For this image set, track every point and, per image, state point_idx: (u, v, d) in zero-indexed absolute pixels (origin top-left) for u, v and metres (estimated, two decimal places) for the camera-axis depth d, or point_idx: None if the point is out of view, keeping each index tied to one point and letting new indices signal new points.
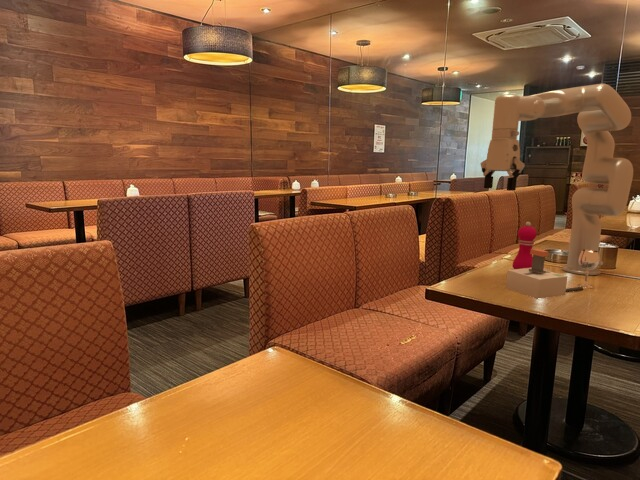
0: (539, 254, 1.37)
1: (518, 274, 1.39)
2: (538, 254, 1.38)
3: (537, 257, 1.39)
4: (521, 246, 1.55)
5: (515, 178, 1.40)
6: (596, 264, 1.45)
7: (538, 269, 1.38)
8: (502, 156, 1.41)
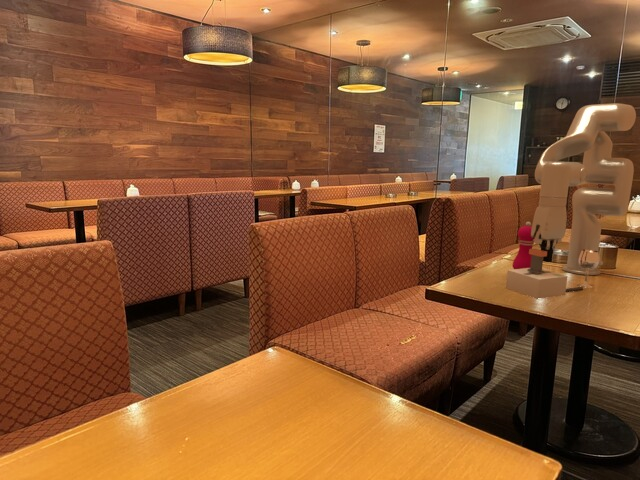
0: (538, 254, 1.37)
1: (518, 274, 1.39)
2: (537, 254, 1.37)
3: (536, 257, 1.38)
4: (521, 246, 1.55)
5: None
6: (596, 264, 1.45)
7: (537, 269, 1.38)
8: (562, 225, 1.37)
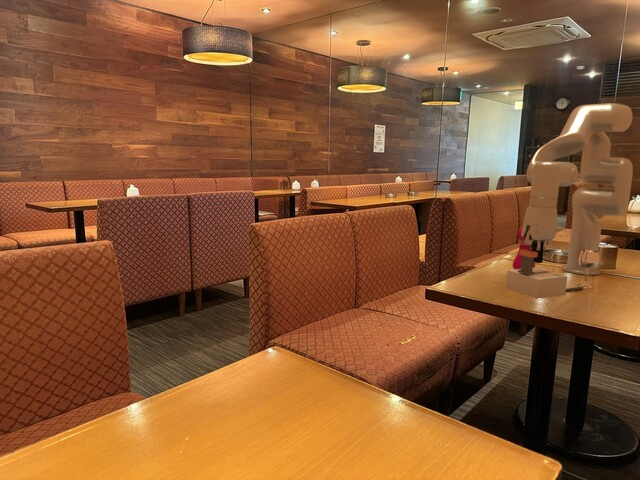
0: (528, 255, 1.35)
1: (518, 274, 1.39)
2: (527, 255, 1.36)
3: (526, 258, 1.37)
4: (521, 246, 1.55)
5: None
6: (596, 264, 1.45)
7: (527, 270, 1.37)
8: (552, 225, 1.36)
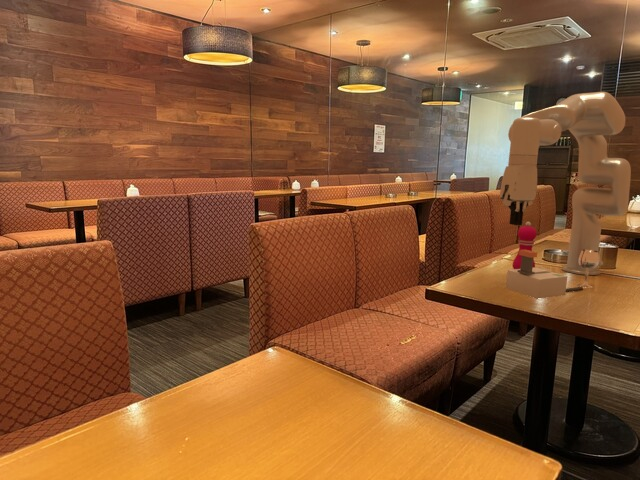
0: (528, 255, 1.35)
1: (518, 274, 1.39)
2: (527, 255, 1.36)
3: (526, 258, 1.37)
4: (521, 246, 1.55)
5: None
6: (596, 264, 1.45)
7: (527, 270, 1.37)
8: (532, 185, 1.29)
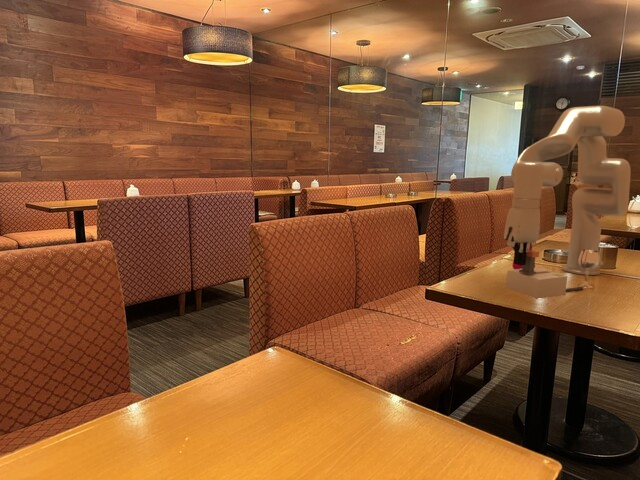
0: (529, 255, 1.36)
1: (518, 274, 1.39)
2: (528, 255, 1.36)
3: (527, 258, 1.37)
4: None
5: None
6: (596, 264, 1.45)
7: (528, 270, 1.37)
8: (535, 227, 1.33)
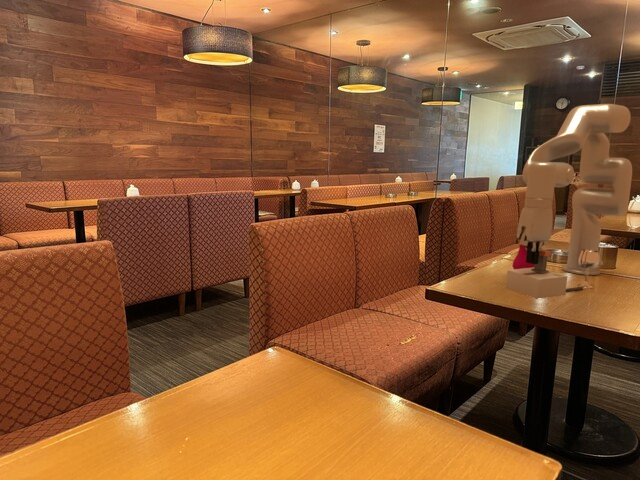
0: (542, 254, 1.38)
1: (518, 274, 1.39)
2: (541, 254, 1.38)
3: (540, 257, 1.39)
4: (521, 246, 1.55)
5: None
6: (596, 264, 1.45)
7: (541, 269, 1.39)
8: (548, 226, 1.35)
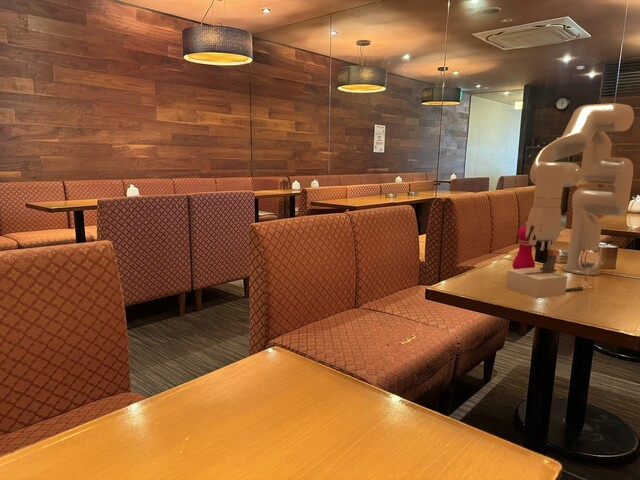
0: (550, 253, 1.39)
1: (518, 274, 1.39)
2: (549, 253, 1.40)
3: (548, 256, 1.40)
4: (521, 246, 1.55)
5: None
6: (596, 264, 1.45)
7: (549, 268, 1.40)
8: (556, 225, 1.37)
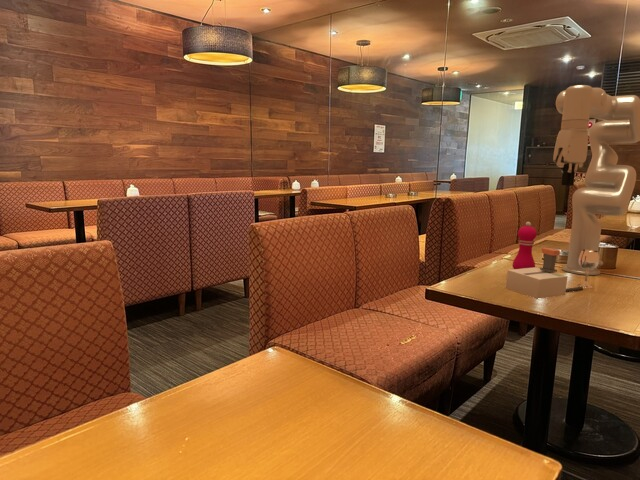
0: (550, 253, 1.39)
1: (518, 274, 1.39)
2: (549, 253, 1.40)
3: (548, 256, 1.41)
4: (521, 246, 1.55)
5: None
6: (596, 264, 1.45)
7: (549, 268, 1.40)
8: (583, 148, 1.41)
